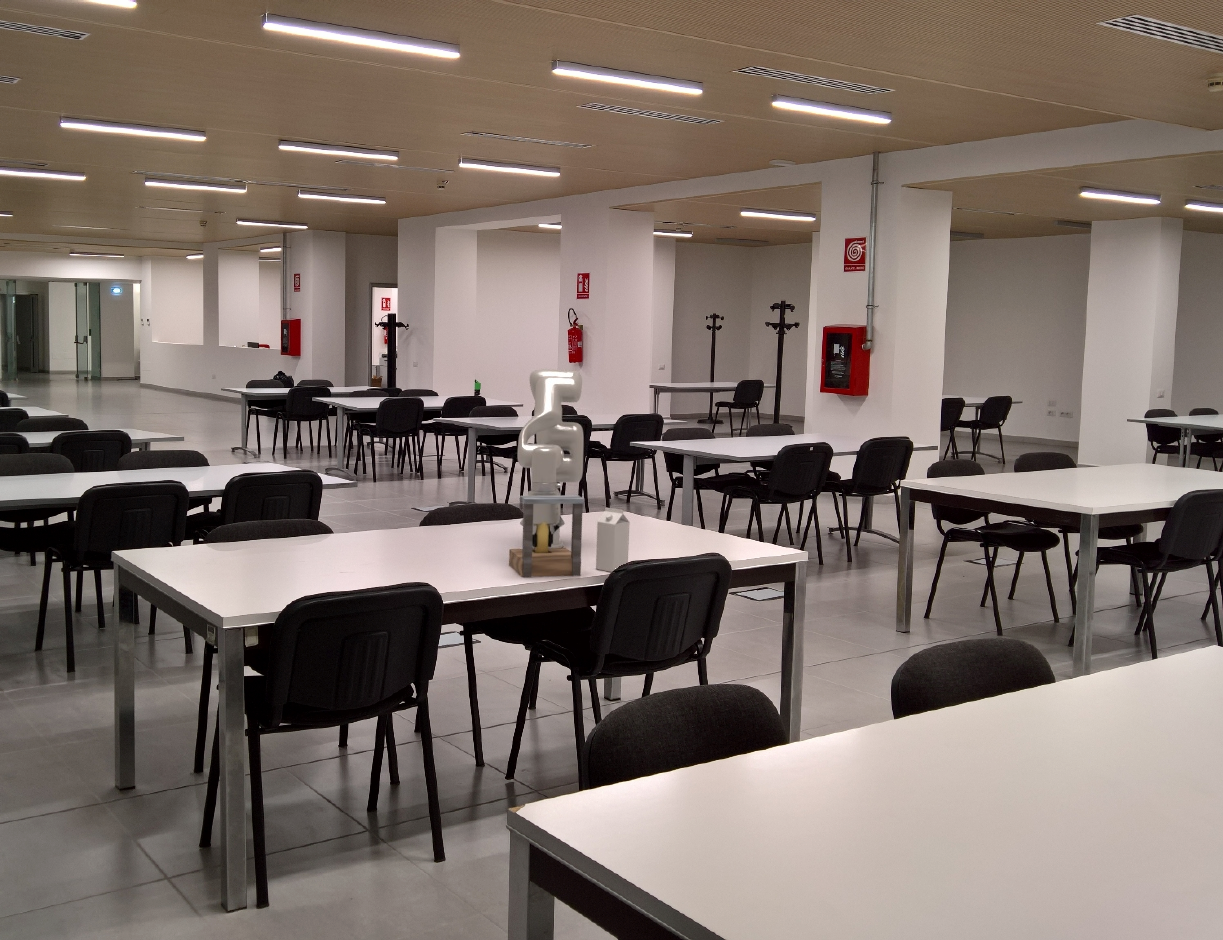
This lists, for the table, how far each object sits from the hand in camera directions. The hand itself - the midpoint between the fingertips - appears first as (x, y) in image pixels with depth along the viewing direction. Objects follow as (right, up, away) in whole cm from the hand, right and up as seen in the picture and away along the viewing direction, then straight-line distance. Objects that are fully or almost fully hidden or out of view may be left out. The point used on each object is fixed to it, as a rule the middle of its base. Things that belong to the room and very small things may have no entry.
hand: (541, 545), depth 346 cm
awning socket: (+1, -7, -3) cm, 8 cm away
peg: (0, -5, 0) cm, 5 cm away
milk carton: (+22, -8, +1) cm, 23 cm away
